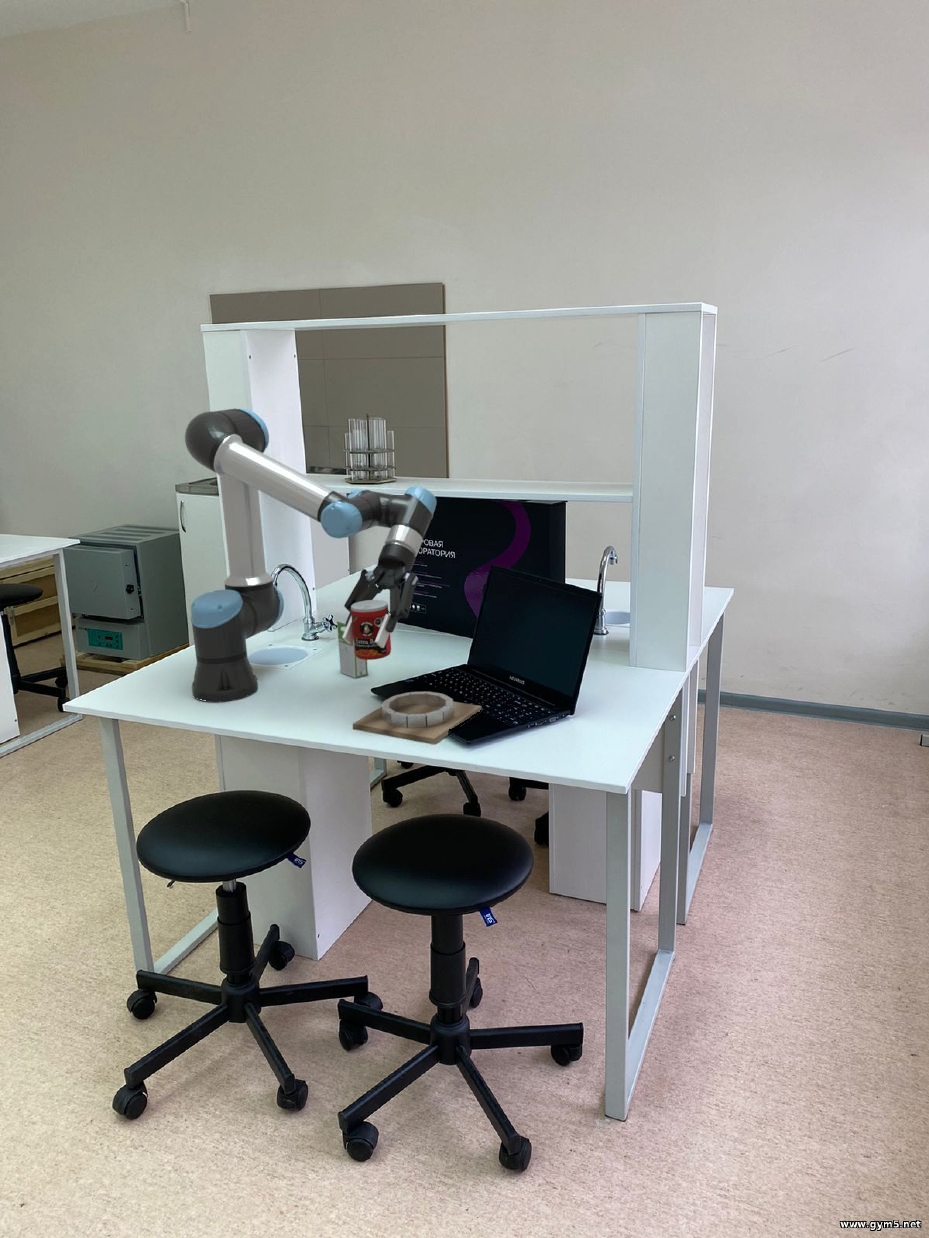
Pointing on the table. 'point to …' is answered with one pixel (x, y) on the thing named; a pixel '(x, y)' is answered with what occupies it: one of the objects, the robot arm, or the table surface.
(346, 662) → the ink box
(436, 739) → the board
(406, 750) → the table surface
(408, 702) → the collar
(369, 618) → the canned food
